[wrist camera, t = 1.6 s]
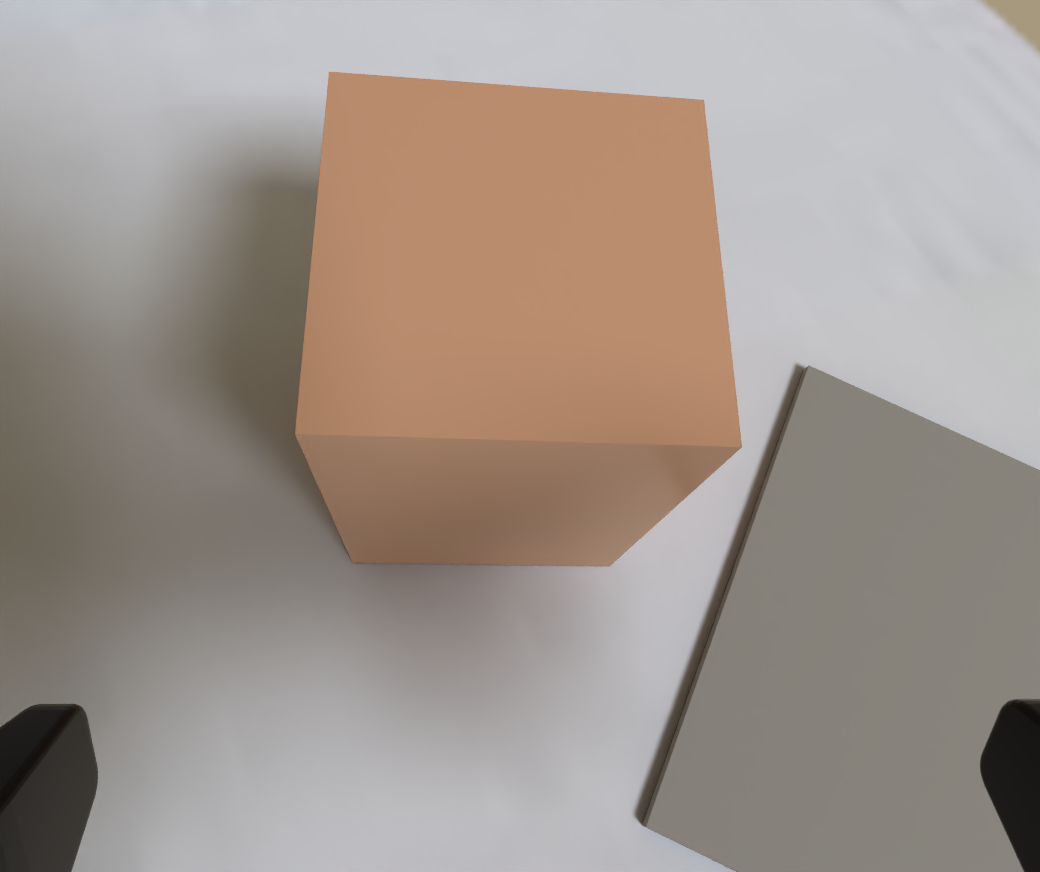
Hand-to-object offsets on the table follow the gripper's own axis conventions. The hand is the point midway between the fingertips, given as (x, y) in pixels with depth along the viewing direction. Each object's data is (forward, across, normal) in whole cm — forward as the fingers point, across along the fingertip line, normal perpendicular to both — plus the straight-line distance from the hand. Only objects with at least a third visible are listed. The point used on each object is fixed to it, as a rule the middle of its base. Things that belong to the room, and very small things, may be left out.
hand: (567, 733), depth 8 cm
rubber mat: (+10, -13, +9) cm, 19 cm away
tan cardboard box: (+15, 0, +4) cm, 16 cm away
